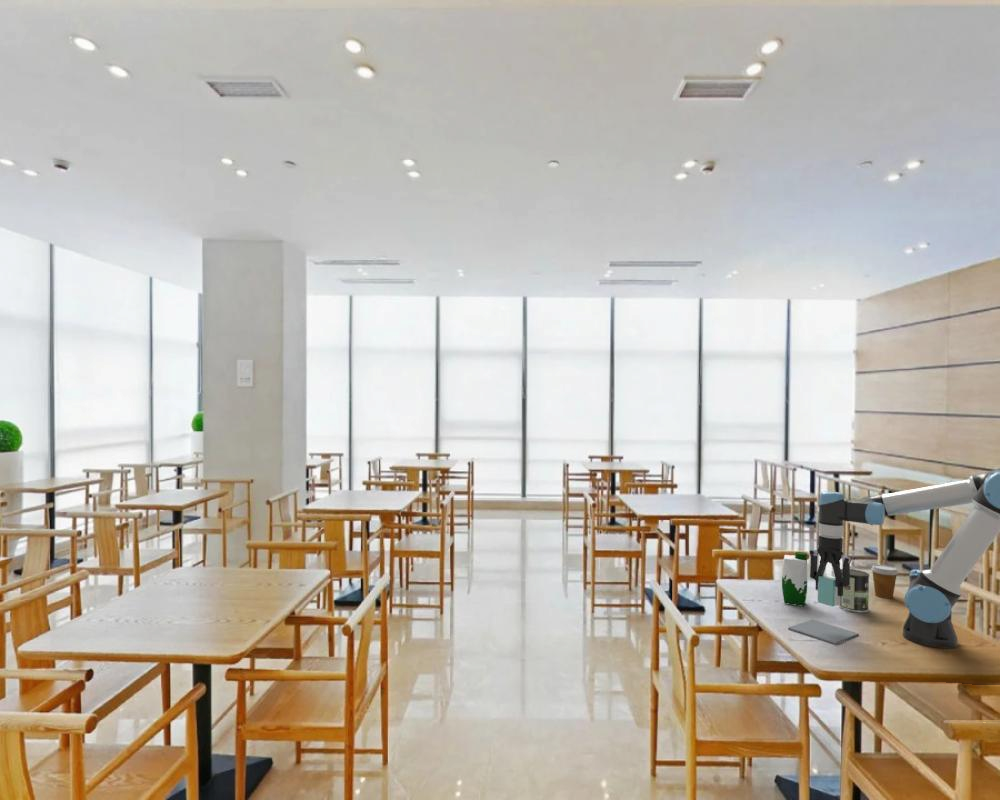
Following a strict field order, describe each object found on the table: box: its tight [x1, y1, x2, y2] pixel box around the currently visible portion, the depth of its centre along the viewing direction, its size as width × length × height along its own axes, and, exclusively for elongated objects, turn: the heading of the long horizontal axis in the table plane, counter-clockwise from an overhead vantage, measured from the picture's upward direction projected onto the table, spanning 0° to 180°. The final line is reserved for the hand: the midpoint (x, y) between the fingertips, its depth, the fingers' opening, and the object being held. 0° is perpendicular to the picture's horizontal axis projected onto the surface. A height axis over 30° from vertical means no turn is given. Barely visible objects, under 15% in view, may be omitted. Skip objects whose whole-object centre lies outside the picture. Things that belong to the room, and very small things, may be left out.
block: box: [817, 574, 837, 607], centre depth 210 cm, size 5×5×9 cm
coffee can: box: [837, 568, 870, 614], centre depth 234 cm, size 10×10×14 cm
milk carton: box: [781, 551, 808, 607], centre depth 239 cm, size 9×9×20 cm
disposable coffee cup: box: [870, 564, 899, 599], centre depth 251 cm, size 10×10×12 cm
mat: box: [787, 618, 859, 645], centre depth 207 cm, size 16×16×1 cm
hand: (828, 602), depth 209 cm, fingers closed on block, 5 cm apart
